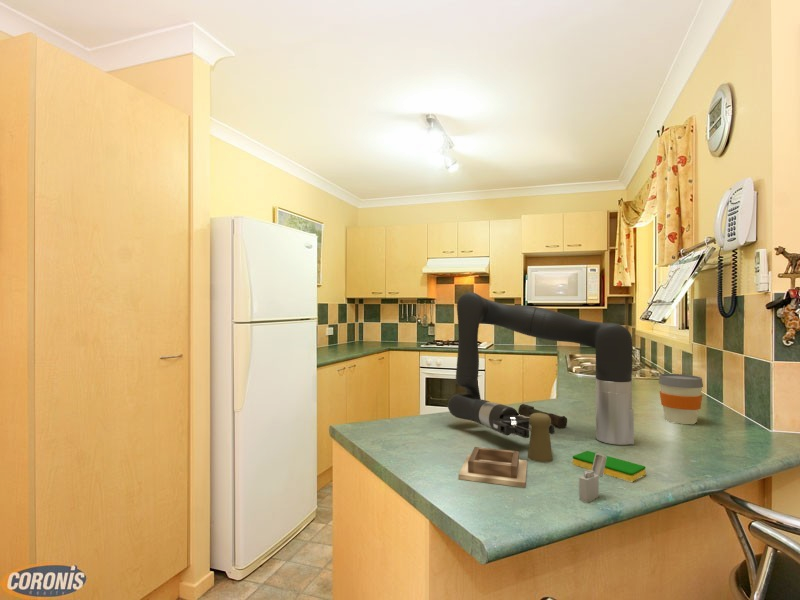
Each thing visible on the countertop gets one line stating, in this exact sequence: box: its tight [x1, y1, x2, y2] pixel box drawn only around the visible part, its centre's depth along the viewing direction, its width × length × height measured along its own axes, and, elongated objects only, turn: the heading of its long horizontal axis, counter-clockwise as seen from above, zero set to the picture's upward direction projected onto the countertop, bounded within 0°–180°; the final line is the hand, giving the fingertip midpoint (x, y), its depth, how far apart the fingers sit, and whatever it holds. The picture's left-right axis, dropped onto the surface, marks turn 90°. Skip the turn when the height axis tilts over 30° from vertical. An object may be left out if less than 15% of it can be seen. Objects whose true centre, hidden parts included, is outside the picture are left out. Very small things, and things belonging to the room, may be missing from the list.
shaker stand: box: [458, 446, 528, 488], centre depth 98 cm, size 14×14×4 cm
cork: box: [527, 413, 554, 463], centre depth 108 cm, size 6×6×11 cm
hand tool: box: [517, 403, 568, 429], centre depth 143 cm, size 19×4×5 cm, turn 28°
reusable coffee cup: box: [658, 373, 704, 425], centre depth 144 cm, size 13×13×15 cm
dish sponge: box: [572, 450, 647, 482], centre depth 100 cm, size 7×14×2 cm, turn 38°
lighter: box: [578, 452, 607, 503], centre depth 85 cm, size 7×2×8 cm, turn 124°
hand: (541, 431), depth 107 cm, fingers open, 8 cm apart
